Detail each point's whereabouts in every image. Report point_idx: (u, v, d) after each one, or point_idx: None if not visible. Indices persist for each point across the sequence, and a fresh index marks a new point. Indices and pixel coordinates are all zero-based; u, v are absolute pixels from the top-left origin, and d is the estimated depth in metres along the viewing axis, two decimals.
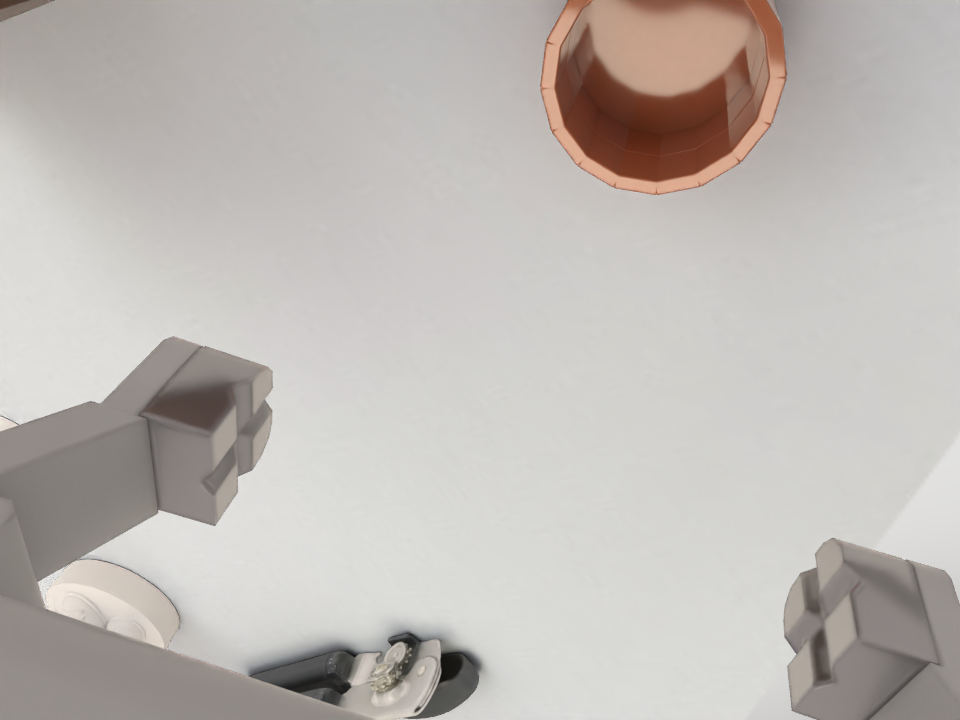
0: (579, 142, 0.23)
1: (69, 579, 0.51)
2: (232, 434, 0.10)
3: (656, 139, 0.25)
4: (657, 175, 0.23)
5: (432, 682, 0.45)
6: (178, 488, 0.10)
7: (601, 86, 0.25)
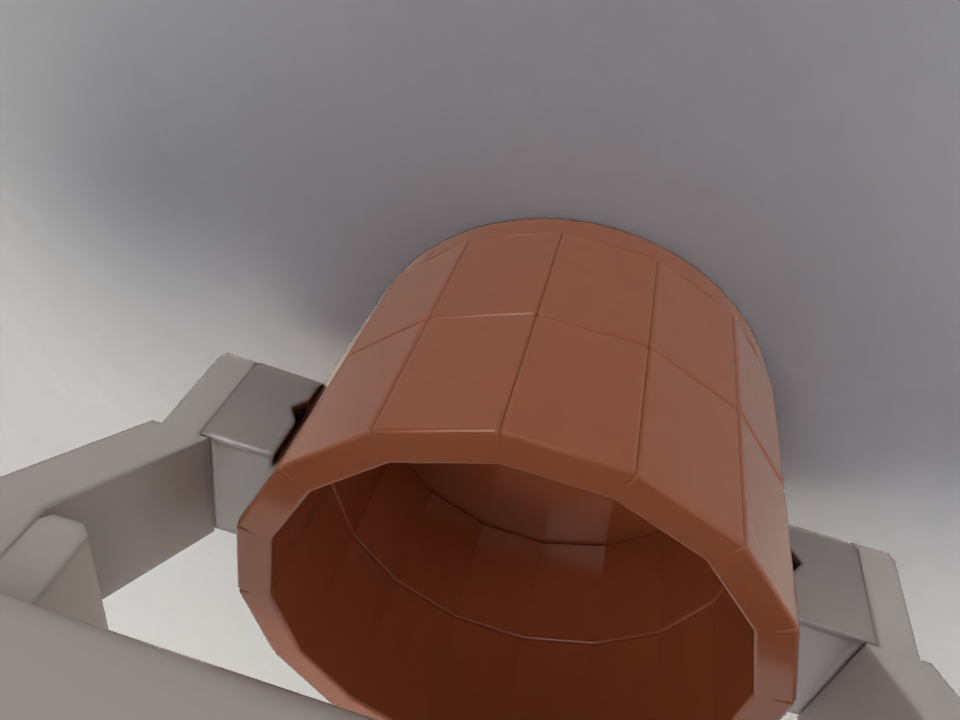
0: (293, 622, 0.10)
1: None
2: None
3: (468, 544, 0.13)
4: (428, 710, 0.11)
5: None
6: (236, 506, 0.10)
7: None
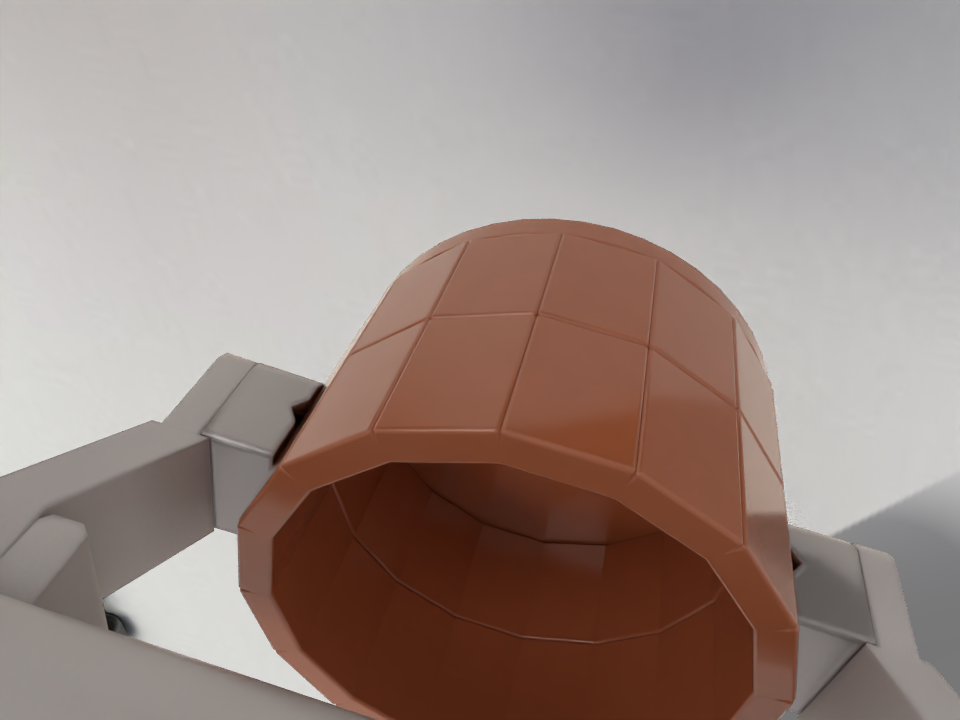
0: (294, 622, 0.10)
1: None
2: None
3: (468, 544, 0.13)
4: (428, 709, 0.11)
5: None
6: (236, 506, 0.10)
7: None
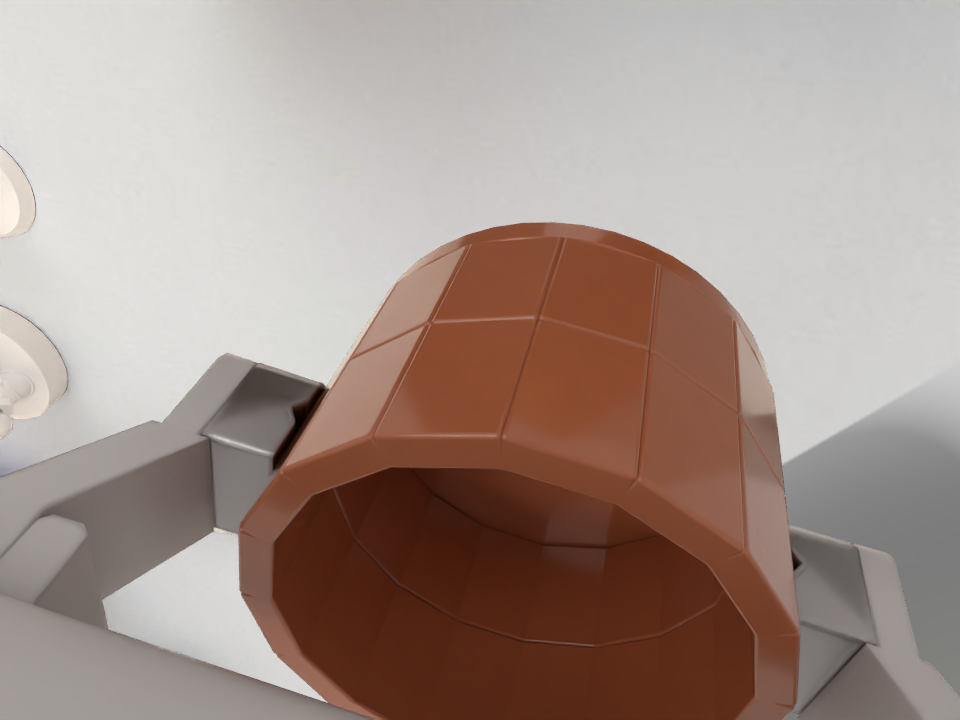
0: (294, 625, 0.10)
1: None
2: None
3: (469, 546, 0.13)
4: (429, 712, 0.11)
5: None
6: (236, 506, 0.10)
7: None
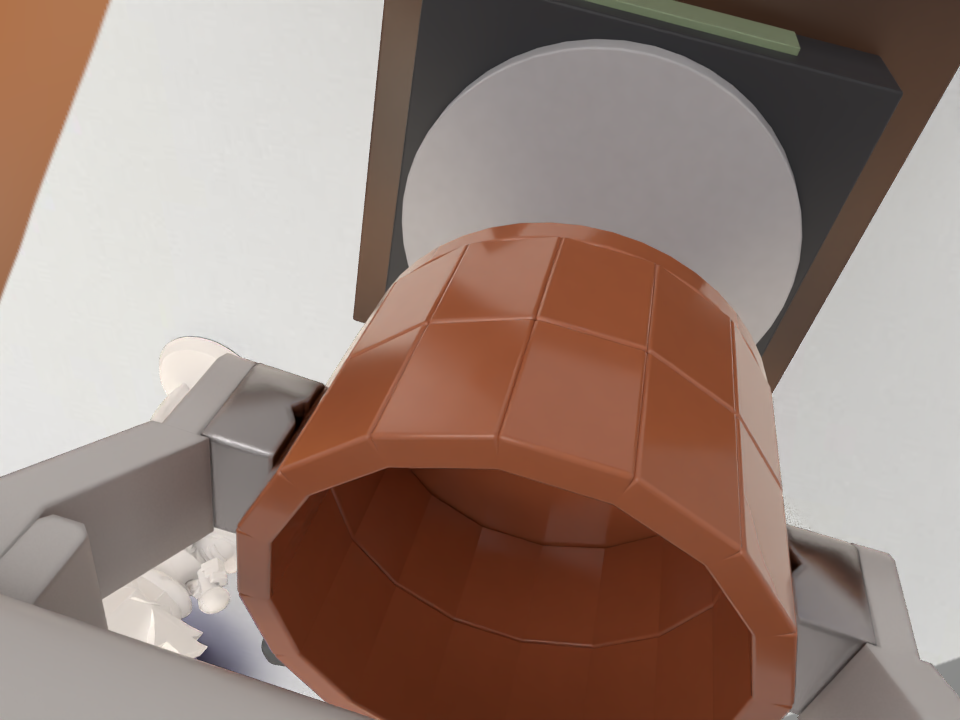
0: (293, 625, 0.10)
1: None
2: None
3: (467, 547, 0.13)
4: (427, 712, 0.11)
5: None
6: (236, 506, 0.10)
7: None
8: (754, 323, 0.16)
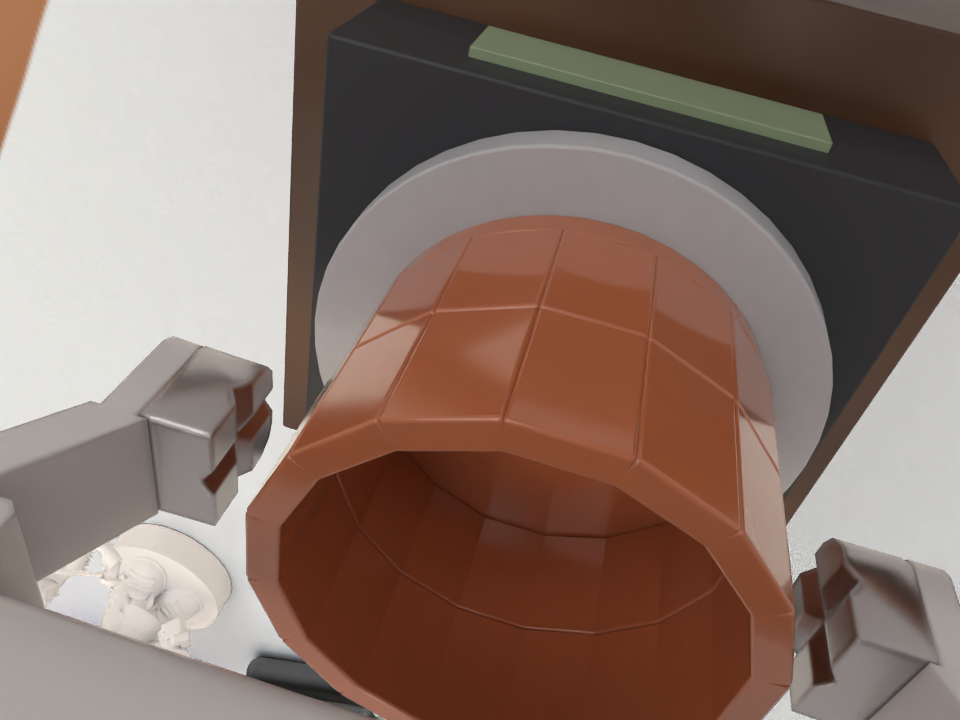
0: (300, 610, 0.10)
1: (154, 546, 0.50)
2: (232, 434, 0.10)
3: (470, 537, 0.14)
4: (432, 697, 0.11)
5: None
6: (178, 488, 0.10)
7: None
8: None
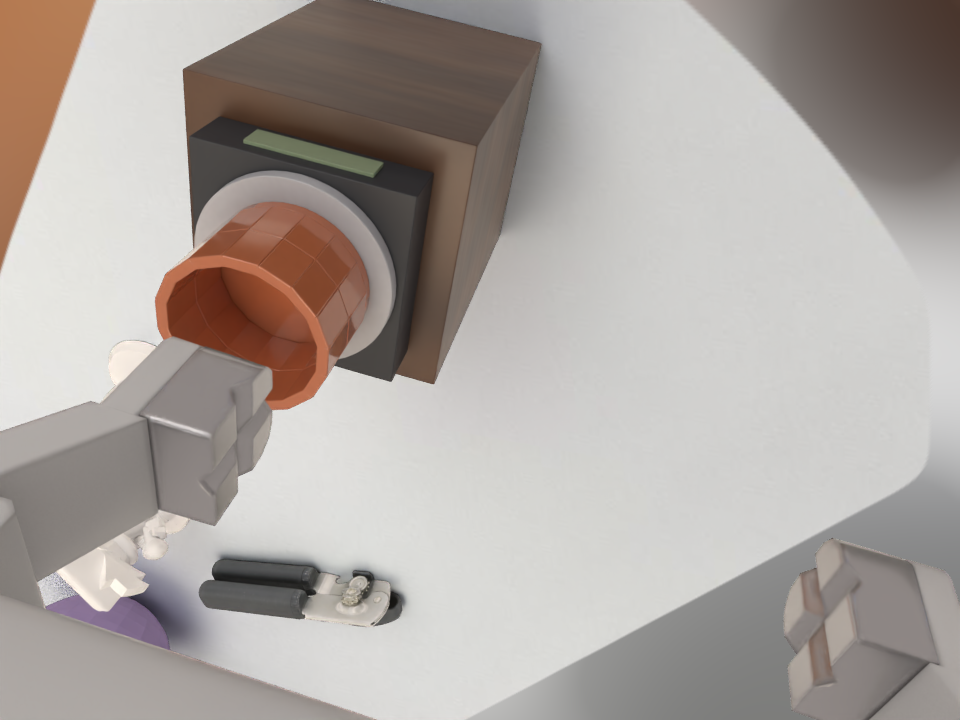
0: None
1: None
2: (232, 434, 0.10)
3: (263, 341, 0.32)
4: None
5: (384, 609, 0.70)
6: (178, 488, 0.10)
7: (235, 285, 0.31)
8: (380, 312, 0.31)
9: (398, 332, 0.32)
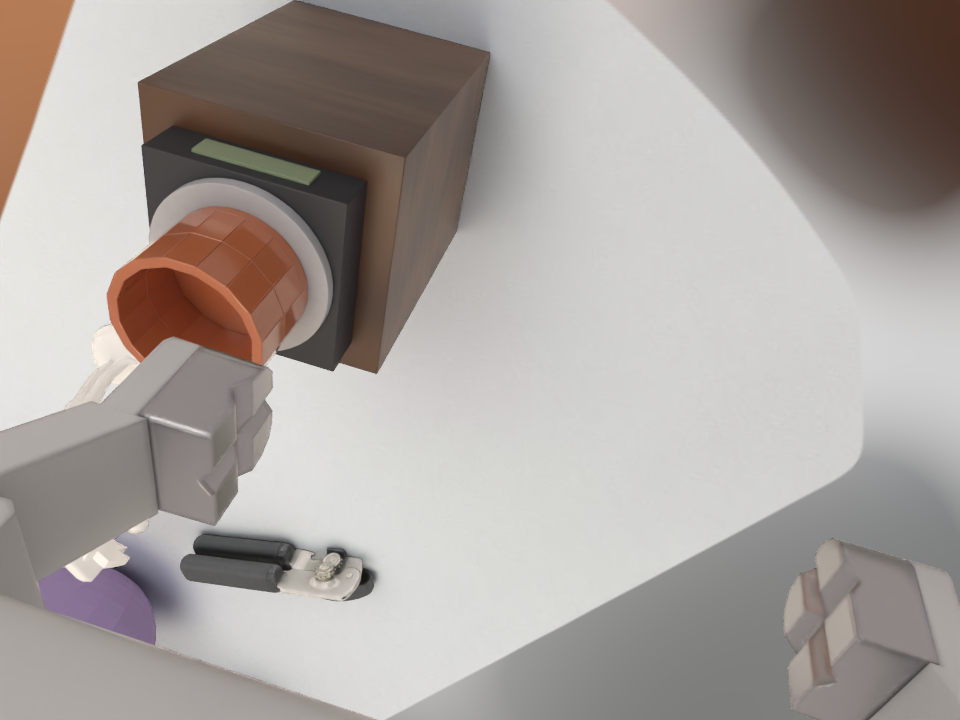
0: (129, 335, 0.31)
1: None
2: (232, 434, 0.10)
3: (213, 333, 0.34)
4: None
5: (355, 585, 0.73)
6: (178, 488, 0.10)
7: (186, 281, 0.34)
8: (318, 308, 0.34)
9: (337, 326, 0.35)
